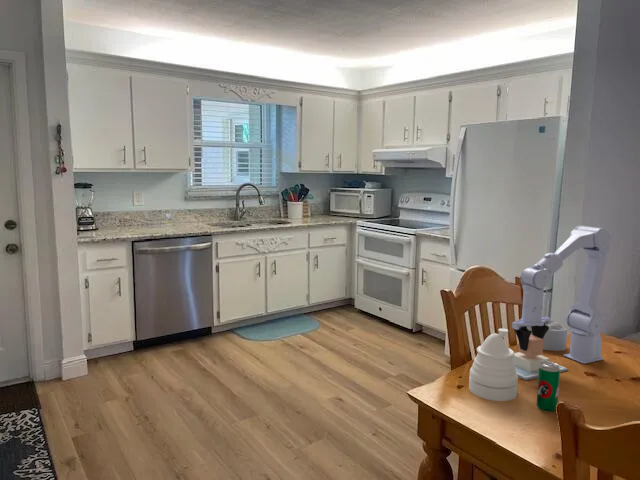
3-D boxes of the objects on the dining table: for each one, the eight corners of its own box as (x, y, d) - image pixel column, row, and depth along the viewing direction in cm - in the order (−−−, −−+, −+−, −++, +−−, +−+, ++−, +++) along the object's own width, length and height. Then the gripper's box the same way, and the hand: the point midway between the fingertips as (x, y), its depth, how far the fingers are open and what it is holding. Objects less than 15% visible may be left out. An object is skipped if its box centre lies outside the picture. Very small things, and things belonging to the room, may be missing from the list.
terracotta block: (529, 349, 158) (530, 334, 157) (542, 354, 153) (543, 339, 152) (518, 351, 155) (519, 336, 155) (530, 357, 151) (531, 341, 150)
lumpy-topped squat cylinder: (532, 337, 183) (534, 315, 182) (569, 345, 175) (571, 322, 174) (522, 344, 176) (523, 321, 175) (560, 353, 167) (562, 329, 166)
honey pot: (515, 384, 142) (519, 324, 140) (518, 404, 130) (522, 339, 128) (469, 378, 146) (472, 320, 144) (468, 396, 134) (470, 333, 132)
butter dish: (531, 355, 165) (531, 345, 165) (567, 370, 153) (568, 359, 152) (491, 363, 158) (491, 353, 157) (525, 380, 145) (526, 368, 145)
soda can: (559, 413, 125) (563, 369, 123) (538, 411, 126) (541, 367, 124) (554, 404, 130) (557, 361, 128) (534, 402, 131) (537, 360, 129)
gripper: (525, 312, 146) (523, 356, 148) (559, 307, 152) (556, 348, 154) (507, 306, 152) (505, 348, 154) (541, 301, 158) (538, 342, 160)
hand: (529, 348), depth 154 cm, fingers closed on terracotta block, 5 cm apart
